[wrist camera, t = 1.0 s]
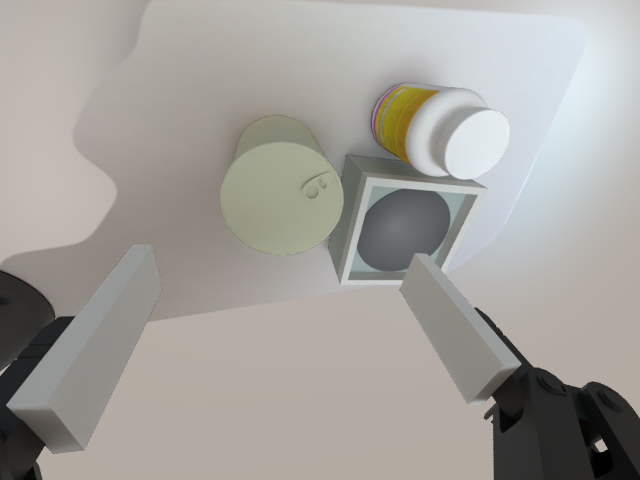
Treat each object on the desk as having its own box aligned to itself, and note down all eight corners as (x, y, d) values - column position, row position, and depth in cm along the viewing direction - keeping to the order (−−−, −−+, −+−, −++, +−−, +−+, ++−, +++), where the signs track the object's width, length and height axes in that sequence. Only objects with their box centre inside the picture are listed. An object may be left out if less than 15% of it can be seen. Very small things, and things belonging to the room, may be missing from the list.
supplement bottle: (367, 150, 30) (421, 195, 19) (373, 83, 26) (444, 92, 15) (421, 148, 30) (502, 189, 20) (435, 82, 27) (542, 90, 16)
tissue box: (328, 248, 36) (340, 284, 30) (346, 154, 29) (367, 177, 23) (411, 250, 39) (438, 284, 33) (446, 165, 32) (487, 188, 26)
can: (335, 171, 30) (366, 220, 20) (271, 213, 32) (272, 277, 22) (289, 95, 25) (301, 111, 15) (217, 149, 27) (186, 195, 17)
